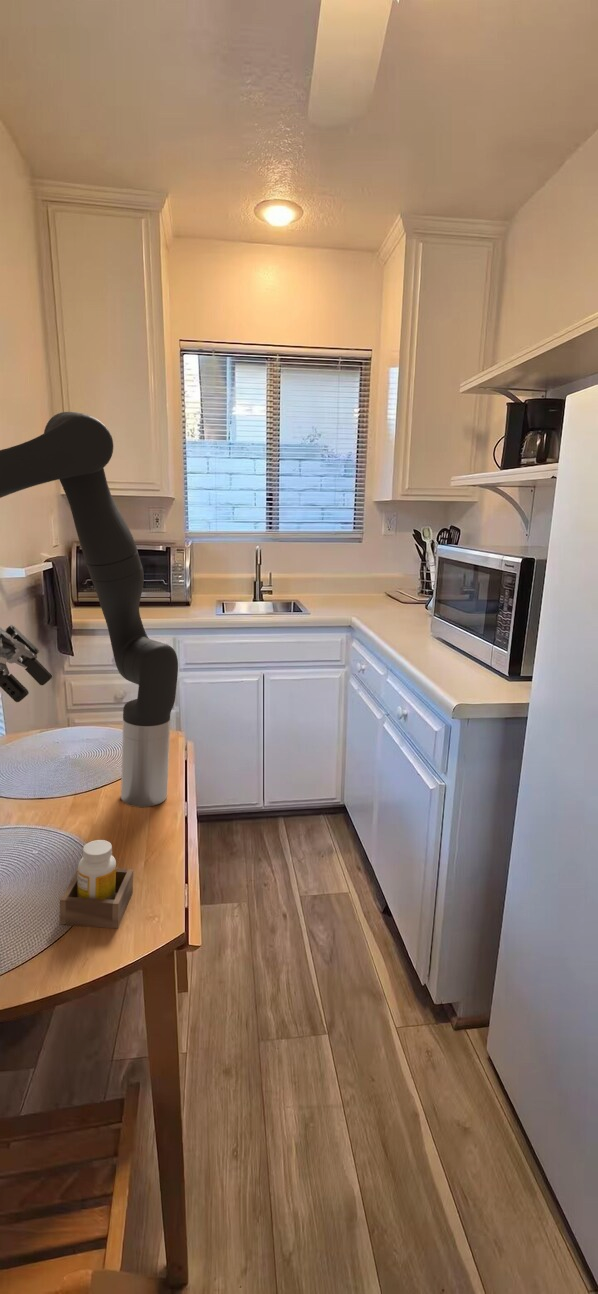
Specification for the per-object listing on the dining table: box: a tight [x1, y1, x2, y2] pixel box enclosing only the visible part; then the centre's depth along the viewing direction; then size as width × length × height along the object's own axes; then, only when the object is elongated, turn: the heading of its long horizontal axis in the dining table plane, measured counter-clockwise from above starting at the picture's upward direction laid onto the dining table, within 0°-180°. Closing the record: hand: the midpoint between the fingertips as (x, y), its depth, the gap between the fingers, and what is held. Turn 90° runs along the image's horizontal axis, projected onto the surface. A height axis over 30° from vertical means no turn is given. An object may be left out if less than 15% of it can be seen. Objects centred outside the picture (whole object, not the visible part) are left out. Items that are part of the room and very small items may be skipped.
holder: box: [59, 868, 134, 929], centre depth 88 cm, size 8×8×4 cm
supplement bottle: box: [77, 839, 117, 900], centre depth 87 cm, size 5×5×10 cm
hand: (36, 689), depth 89 cm, fingers open, 8 cm apart
